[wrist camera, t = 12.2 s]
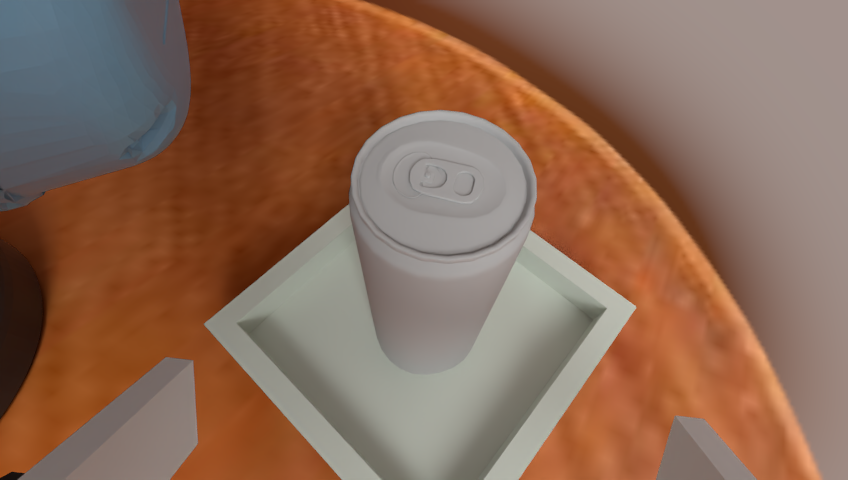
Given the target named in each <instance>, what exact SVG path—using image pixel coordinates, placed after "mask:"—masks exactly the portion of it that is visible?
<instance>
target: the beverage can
mask: <svg viewBox="0 0 848 480" xmlns="http://www.w3.org/2000/svg"><path fill="white" fill-rule="evenodd" d="M536 199H537V190H536V176H535V173H534V170H533V167H532V164H531V161H530V159H529V158H528V156H527V155H526V153H525V152H524V150H523V149H522V147H521V146H520V145H519V143H518V142H517V141H516V140H514V139H513V138H512V137H511V136H510V135H509V134H508V133H507V132H505V131H504V130H503V129H501V128H500V127H498V126H496V125H494V124H492V123H490V122H489V121H487V120H485V119H482V118H479V117H476V116H473V115H470V114H467V113H463V112H455V111H446V110H435V111H422V112H417V113H413V114H410V115H406V116H403V117H399V118H397V119H396V120H394V121H392V122H390V123H388V124H386V125H384V126H382V127H381V128H380V129H379V130H377V131H376V132H375V133H374V134H373V135H372V136H371V137H370V138H369V139H368V140H366V142H365V143H364V145H363V147H362V148H361V150H360V151H359V153H358V154H357V156H356V158H355V162H354V166H353V169H352V173H351V186H350V190H349V204H350V217H351V222H352V226H353V231H354V235H355V240H356V245H357V249H358V254H359V258H360V263H361V267H362V272H363V276H364V281H365V286H366V290H367V295H368V299H369V304H370V308H371V313H372V317H373V322H374V327H375V331H376V336H377V339H378V341H379V344H380V347H381V349H382V351H383V352H384V353H385V355H386V356H387V358H388V359H389V360H390V361H391V362H392V363H394V364H395V365H396V366H397V367H399V368H400V369H402V370H405V371H407V372H410V373H412V374H424V375H428V374H434V373H439V372H443V371H445V370H448V369H451V368H453V367H455V366H456V365H457V364H459V363H460V362H461V361H463V360H464V359H465V357H466V356H467V355H468V353H469V352H470V350H471V349H472V347H473V345H474V343H475V341H476V339H477V337H478V335H479V333H480V331H481V329H482V327H483V325H484V323H485V321H486V319H487V317H488V315H489V313H490V311H491V309H492V307H493V305H494V303H495V301H496V299H497V297H498V295H499V293H500V291H501V289H502V287H503V285H504V283H505V281H506V279H507V277H508V275H509V273H510V271H511V269H512V267H513V265H514V263H515V261H516V259H517V257H518V255H519V253H520V251H521V249H522V247H523V245H524V243H525V241H526V239H527V236H528V234H529V231H530V228H531V225H532V222H533V219H534V205H535V202H536Z"/></svg>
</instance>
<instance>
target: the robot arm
mask: <svg viewBox="0 0 848 480" xmlns="http://www.w3.org/2000/svg"><path fill="white" fill-rule="evenodd" d="M190 96H191V75H190V63H189V54H188V47H187V41H186V35H185V30H184V24H183V19H182V14H181V9H180V4H179V0H0V211H8V210H12V209H15V208H19V207H23V206H27V205H28V204H29V203H30V202H32V201H33V200H35V199H37V198H39V197H40V196H42V195H44V193H45V192H46V191H48V190H51V189H55V188H58V187H62V186H65V185H69V184H72V183H76V182H79V181H83V180H86V179H90V178H93V177H97V176H100V175H104V174H107V173H111V172H114V171H118V170H121V169H125V168H128V167H132V166H135V165H137V164H140V163H143V162H145V161H147V160H149V159H151V158H153V157H155V156H157V155H158V154H160V153H161V152H162V151H163V150H165V149H166V148H167V147H168V146H169V145H170V144H171V143H172V141H173V140H174V139H175V138H176V136H177V135H178V134H179V132H180V130H181V128H182V127H183V125H184V122H185V120H186V117H187V114H188V109H189V103H190ZM42 313H43V307H42V295H41V290H40V286H39V282H38V279H37V277H36V274H35V272H34V270H33V268H32V267H31V265H30V264H29V262H28V261H27V260H26V258H25V257H24V256H23V255H22V254H21V253H20V252H19V251H18V250H17V249H15V248H14V247H13V246H11V245H10V244H8V243H7V242H5V241H3V240H2V239H0V418H1V416H2V415H3V414H4V412H5V411H6V409H7V408H8V406H9V405H10V403H11V401H12V400H13V398H14V397H15V395H16V393H17V391H18V390H19V388H20V386H21V384H22V382H23V380H24V378H25V376H26V374H27V372H28V370H29V367H30V365H31V362H32V360H33V357H34V354H35V351H36V348H37V345H38V341H39V336H40V332H41V325H42ZM197 444H198V435H197V418H196V401H195V383H194V366H193V360H186V359H177V358H168V357H166V358H164V359H163V360H162V361H161V362H160V363H158V364H157V365H156V366H155V367H154V368H152V369H151V370H150V371H149V372H147V373H146V374H145V375H144V376H143V377H141V378H140V379H139V380H138V381H137V382H135V383H134V384H133V385H132V386H130V387H129V388H128V389H127V390H126V391H124V392H123V393H122V394H121V395H120V396H118V397H117V398H116V399H115V400H114V401H112V402H111V403H110V404H109V405H107V406H106V407H105V408H104V409H103V410H101V411H100V412H99V413H98V414H97V415H95V416H94V417H93V418H92V419H90V420H89V421H88V422H87V423H86V424H84V425H83V426H82V427H81V428H80V429H78V430H77V431H76V432H75V433H74V434H72V435H71V436H70V437H69V438H67V439H66V440H65V441H64V442H63V443H61V444H60V445H59V446H58V447H57V448H55V449H54V450H53V451H52V452H50V453H49V454H48V455H47V456H46V457H44V458H43V459H42V460H41V461H40V462H38V463H37V464H36V465H35V466H34V467H32V468H31V469H30V470H29V471H27V472H26V473H17V472H11V473H9V474H7V475H5V476H3V477H1V478H0V480H170V479H171V477H172V476H173V475H174V474H175V472H176V471H177V470H178V469H179V467H180V466H181V465H182V463H183V462H184V461H185V460H186V458H187V457H188V456H189V455H190V453H191V452H192V451H193V449H194V448H195V447H196V446H197ZM656 480H757V479H756V478H755V477H754V476H753V475H752V473H751V472H750V471H749V470H748V469H747V468H746V467H745V465H744V464H743V463H742V462H741V461H740V460H739V459H738V457H737V456H736V455H735V454H734V453H733V452H732V451H731V449H730V448H729V447H728V446H727V445H726V444H725V442H724V441H723V440H722V439H721V438H720V437H719V436H718V434H717V433H716V432H715V431H714V430H713V429H712V428H711V426H710V425H709V424H708V423H707V422H706V421H705V420H704V419H700V418H691V417H682V416H675V417H674V421H673V424H672V427H671V431H670V434H669V437H668V441H667V444H666V448H665V451H664V454H663V458H662V461H661V464H660V468H659V471H658V475H657V478H656Z"/></svg>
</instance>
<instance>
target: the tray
mask: <svg viewBox="0 0 848 480" xmlns="http://www.w3.org/2000/svg"><path fill="white" fill-rule="evenodd" d="M635 309H636V306H635V305H633V304H632V303H630V302H629V301H628V300H626V299H625V298H623V297H622V296H621V295H619V294H618V293H617V292H615V291H614V290H612V289H611V288H610V287H608V286H607V285H605V284H604V283H603V282H601V281H600V280H599V279H597V278H596V277H594V276H593V275H592V274H590V273H589V272H588V271H586V270H585V269H583V268H582V267H581V266H579V265H578V264H576V263H575V262H574V261H572V260H571V259H570V258H568V257H567V256H565V255H564V254H563V253H561V252H560V251H558V250H557V249H556V248H554V247H553V246H552V245H550V244H549V243H547V242H546V241H545V240H543V239H542V238H540V237H539V236H538V235H536V234H535V233H534V232H532V231H531V230H530V231H529V234H528V236H527V239H526V241H525V243H524V245H523V247H522V249H521V251H520V253H519V255H518V257H517V259H516V261H515V263H514V265H513V267H512V269H511V271H510V273H509V275H508V277H507V279H506V281H505V283H504V285H503V287H502V289H501V291H500V293H499V295H498V297H497V299H496V301H495V303H494V305H493V307H492V309H491V311H490V313H489V315H488V317H487V319H486V321H485V323H484V325H483V327H482V329H481V331H480V333H479V335H478V337H477V339H476V341H475V343H474V345H473V347H472V349H471V350H470V352H469V353H468V355H467V356H466V357H465V359H464V360H463V361H461V362H460V363H459V364H457V365H456V366H455V367H453V368H451V369H448V370H445V371H443V372H439V373H434V374H428V375H424V374H412V373H410V372H407V371H405V370H402V369H400V368H399V367H397V366H396V365H395V364H394V363H392V362H391V361H390V360H389V359H388V358H387V356H386V355H385V353H384V352H383V351H382V349H381V347H380V344H379V341H378V339H377V336H376V331H375V327H374V322H373V317H372V313H371V308H370V304H369V299H368V295H367V290H366V286H365V281H364V276H363V272H362V267H361V263H360V258H359V254H358V249H357V245H356V240H355V235H354V231H353V226H352V222H351V217H350V204H348V205H347V206H346V207H345V208H343V209H342V210H341V211H340V212H339V213H337V214H336V215H335V216H334V217H332V218H331V219H330V220H329V221H328V222H326V223H325V224H324V225H323V226H322V227H320V228H319V229H318V230H317V231H316V232H314V233H313V234H312V235H311V236H310V237H308V238H307V239H306V240H305V241H303V242H302V243H301V244H300V245H299V246H297V247H296V248H295V249H294V250H293V251H291V252H290V253H289V254H288V255H287V256H285V257H284V258H283V259H282V260H281V261H279V262H278V263H277V264H276V265H274V266H273V267H272V268H271V269H270V270H268V271H267V272H266V273H265V274H264V275H262V276H261V277H260V278H259V279H258V280H256V281H255V282H254V283H253V284H252V285H250V286H249V287H248V288H247V289H245V290H244V291H243V292H242V293H241V294H239V295H238V296H237V297H236V298H235V299H233V300H232V301H231V302H230V303H229V304H227V305H226V306H225V307H224V308H223V309H221V310H220V311H219V312H218V313H216V314H215V315H214V316H213V317H212V318H210V319H209V320H208V321H207V322H206V323H204V325H205V326H206V328H207V329H208V330H209V331H210V332H211V333H212V334H213V335H214V336H215V338H216V339H217V340H218V341H219V342H220V343H221V344H222V345H223V347H224V348H225V349H226V350H227V351H228V352H229V353H230V354H231V356H232V357H233V358H234V359H235V360H236V361H237V362H238V363H239V365H240V366H241V367H242V368H243V369H244V370H245V371H246V372H247V374H248V375H249V376H250V377H251V378H252V379H253V380H254V381H255V383H256V384H257V385H258V386H259V387H260V388H261V389H262V390H263V392H264V393H265V394H266V395H267V396H268V397H269V398H270V399H271V400H272V402H273V403H274V404H275V405H276V406H277V407H278V408H279V409H280V411H281V412H282V413H283V414H284V415H285V416H286V417H287V418H288V420H289V421H290V422H291V423H292V424H293V425H294V426H295V427H296V429H297V430H298V431H299V432H300V433H301V434H302V435H303V436H304V438H305V439H306V440H307V441H308V442H309V443H310V444H311V445H312V447H313V448H314V449H315V450H316V451H317V452H318V453H319V454H320V456H321V457H322V458H323V459H324V460H325V461H326V462H327V463H328V465H329V466H330V467H331V468H332V469H333V470H334V471H335V472H336V473H337V475H338V476H339V477H340V478H341V479H342V480H518V479H519V478H520V477H521V475H522V474H523V472H524V471H525V469H526V468H527V466H528V465H529V463H530V462H531V460H532V459H533V458H534V456H535V455H536V453H537V452H538V450H539V449H540V447H541V446H542V444H543V443H544V441H545V440H546V439H547V437H548V436H549V434H550V433H551V431H552V430H553V428H554V427H555V425H556V424H557V422H558V421H559V420H560V418H561V417H562V415H563V414H564V412H565V411H566V409H567V408H568V406H569V405H570V404H571V402H572V401H573V399H574V398H575V396H576V395H577V393H578V392H579V390H580V389H581V387H582V386H583V385H584V383H585V382H586V380H587V379H588V377H589V376H590V374H591V373H592V371H593V370H594V368H595V367H596V366H597V364H598V363H599V361H600V360H601V358H602V357H603V355H604V354H605V352H606V351H607V350H608V348H609V347H610V345H611V344H612V342H613V341H614V339H615V338H616V336H617V335H618V333H619V332H620V331H621V329H622V328H623V326H624V325H625V323H626V322H627V320H628V319H629V317H630V316H631V314H632V313H633V312H634V310H635Z"/></svg>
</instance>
